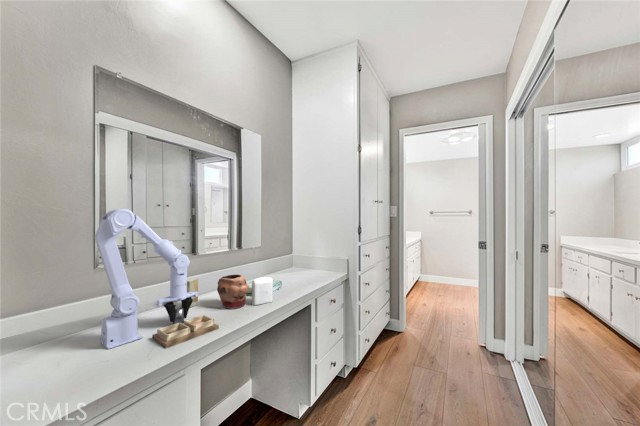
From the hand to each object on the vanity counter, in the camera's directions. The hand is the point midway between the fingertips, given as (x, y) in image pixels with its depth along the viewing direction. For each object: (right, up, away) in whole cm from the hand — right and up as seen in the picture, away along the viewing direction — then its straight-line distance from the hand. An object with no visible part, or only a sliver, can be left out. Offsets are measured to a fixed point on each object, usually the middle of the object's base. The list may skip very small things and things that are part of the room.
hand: (178, 319), depth 100 cm
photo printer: (+27, -2, +25) cm, 37 cm away
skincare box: (-6, -2, +21) cm, 21 cm away
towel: (+21, -3, +45) cm, 50 cm away
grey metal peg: (0, -2, 0) cm, 2 cm away
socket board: (+8, -2, -8) cm, 11 cm away
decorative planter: (+13, -2, +21) cm, 25 cm away
